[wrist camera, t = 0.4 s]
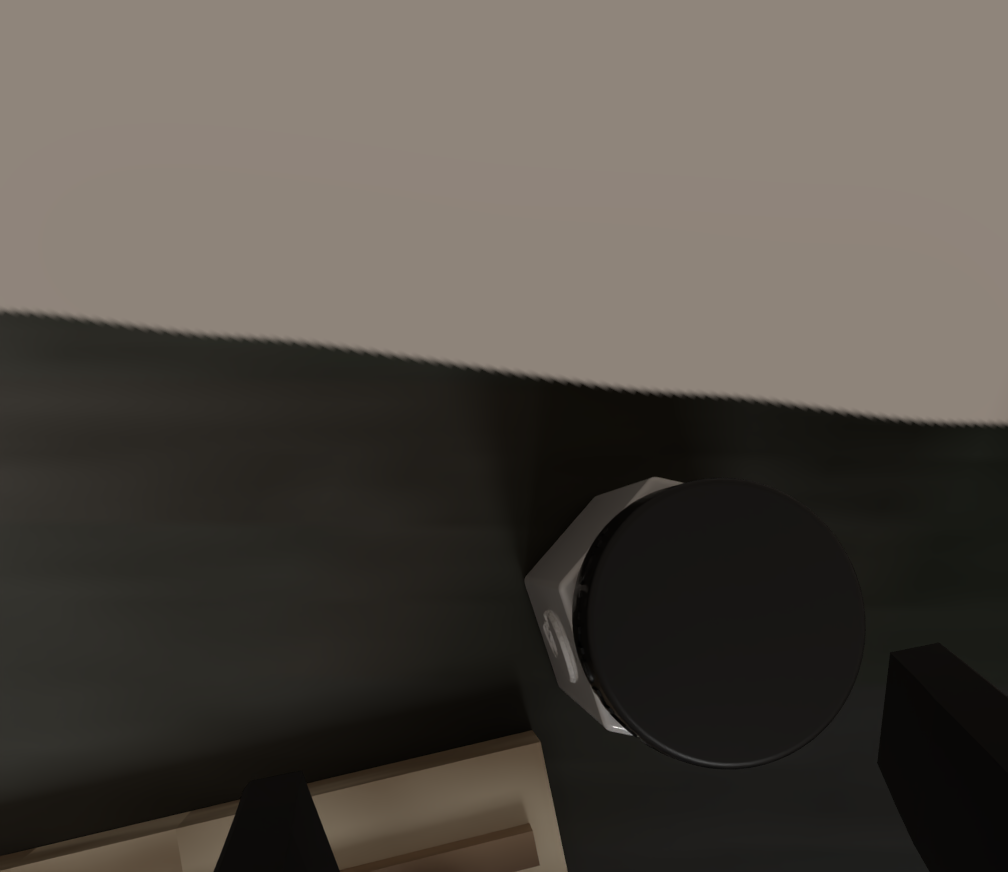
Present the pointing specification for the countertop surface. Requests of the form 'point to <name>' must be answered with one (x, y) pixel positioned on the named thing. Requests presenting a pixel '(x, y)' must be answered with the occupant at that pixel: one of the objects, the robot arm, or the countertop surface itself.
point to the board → (365, 821)
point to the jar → (702, 619)
